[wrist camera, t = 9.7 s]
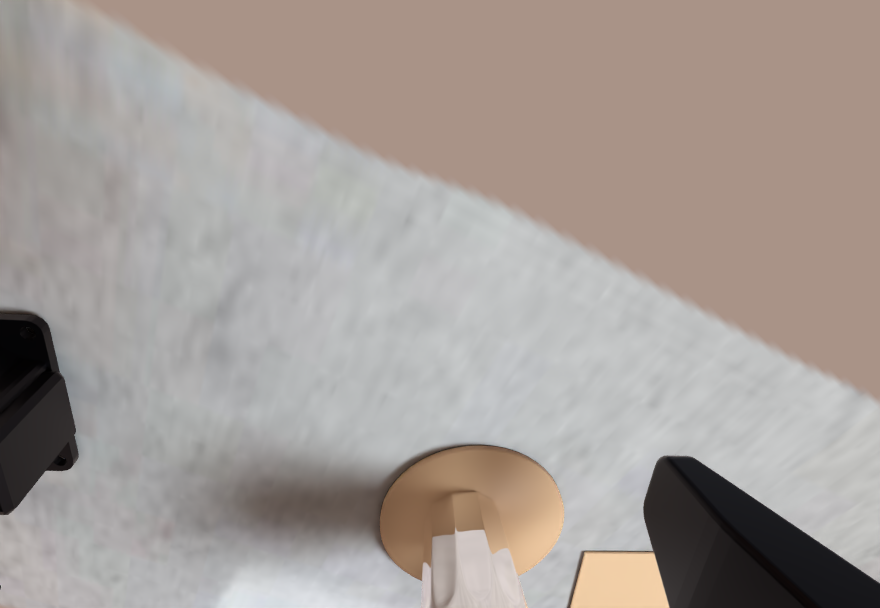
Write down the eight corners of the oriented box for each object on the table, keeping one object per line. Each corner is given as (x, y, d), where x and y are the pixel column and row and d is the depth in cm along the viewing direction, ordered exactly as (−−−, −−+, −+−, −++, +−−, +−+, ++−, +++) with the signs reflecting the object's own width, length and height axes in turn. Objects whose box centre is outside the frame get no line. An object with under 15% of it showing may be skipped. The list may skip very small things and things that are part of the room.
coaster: (376, 580, 27) (376, 588, 27) (384, 442, 23) (383, 449, 23) (545, 581, 28) (547, 588, 27) (576, 447, 24) (579, 454, 24)
